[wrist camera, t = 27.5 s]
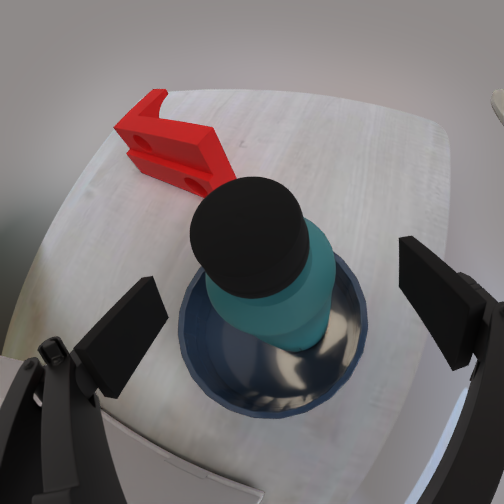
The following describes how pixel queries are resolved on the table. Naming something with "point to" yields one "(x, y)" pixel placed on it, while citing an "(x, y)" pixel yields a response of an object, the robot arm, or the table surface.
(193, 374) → the bowl
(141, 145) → the bracket
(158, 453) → the laptop
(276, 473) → the table surface
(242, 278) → the beverage bottle
